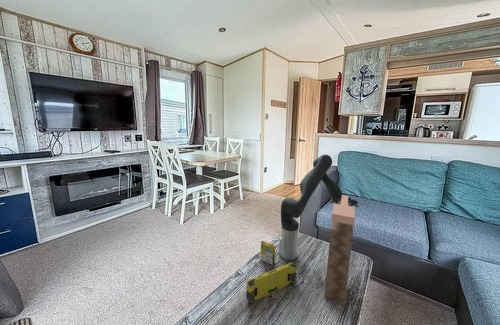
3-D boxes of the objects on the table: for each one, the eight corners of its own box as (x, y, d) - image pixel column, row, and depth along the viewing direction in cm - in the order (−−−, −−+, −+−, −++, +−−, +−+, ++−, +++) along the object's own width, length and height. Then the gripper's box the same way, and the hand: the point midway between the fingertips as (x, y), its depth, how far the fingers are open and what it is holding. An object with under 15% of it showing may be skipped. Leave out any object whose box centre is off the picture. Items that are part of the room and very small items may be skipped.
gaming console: (290, 278, 101) (292, 260, 100) (297, 284, 98) (298, 265, 96) (244, 300, 89) (244, 279, 87) (249, 307, 85) (249, 285, 83)
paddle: (331, 220, 83) (332, 213, 82) (335, 199, 106) (336, 194, 106) (353, 225, 80) (354, 217, 79) (353, 202, 103) (353, 196, 102)
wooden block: (324, 297, 90) (330, 228, 85) (327, 279, 101) (333, 217, 95) (344, 304, 87) (352, 233, 81) (345, 285, 98) (352, 220, 92)
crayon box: (274, 261, 113) (275, 242, 111) (272, 265, 111) (273, 244, 109) (262, 257, 117) (263, 238, 115) (260, 260, 115) (260, 240, 112)
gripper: (330, 196, 118) (329, 188, 103) (358, 200, 112) (362, 193, 98) (329, 209, 116) (328, 203, 101) (357, 214, 110) (360, 209, 95)
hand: (344, 198), depth 99 cm, fingers closed on paddle, 3 cm apart
